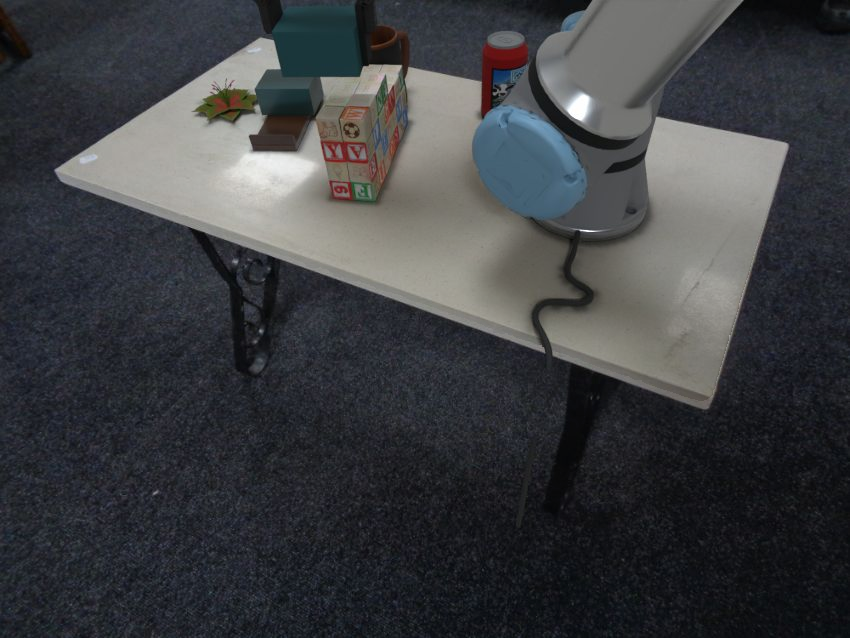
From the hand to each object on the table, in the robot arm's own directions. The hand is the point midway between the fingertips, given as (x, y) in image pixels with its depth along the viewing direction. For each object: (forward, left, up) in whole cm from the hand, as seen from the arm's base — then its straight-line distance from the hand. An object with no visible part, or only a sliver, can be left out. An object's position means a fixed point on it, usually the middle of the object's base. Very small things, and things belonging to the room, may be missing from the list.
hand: (326, 61), depth 65 cm
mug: (+24, -2, -18) cm, 30 cm away
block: (0, 0, 0) cm, 0 cm away
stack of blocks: (+8, -2, -18) cm, 20 cm away
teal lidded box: (+18, +14, -18) cm, 29 cm away
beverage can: (+20, -21, -18) cm, 34 cm away
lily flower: (+23, +26, -18) cm, 39 cm away
